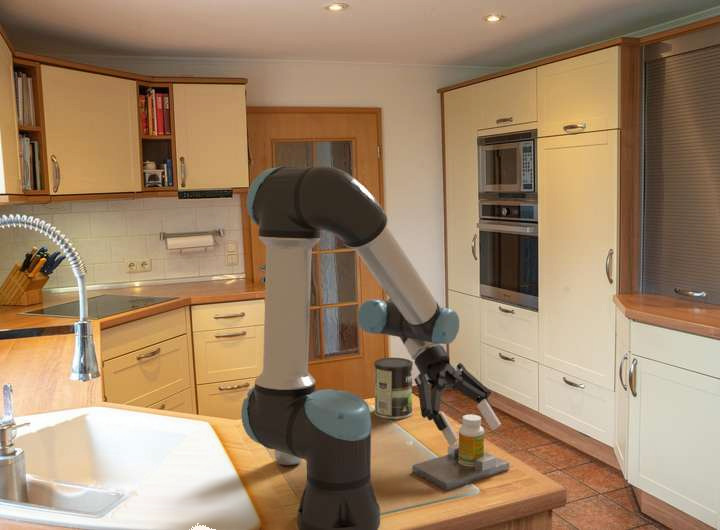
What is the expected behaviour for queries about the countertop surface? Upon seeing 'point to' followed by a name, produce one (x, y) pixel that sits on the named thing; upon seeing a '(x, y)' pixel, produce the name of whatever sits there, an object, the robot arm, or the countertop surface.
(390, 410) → the coffee can
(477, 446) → the supplement bottle
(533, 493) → the countertop surface
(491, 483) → the countertop surface
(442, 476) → the hinge plate
